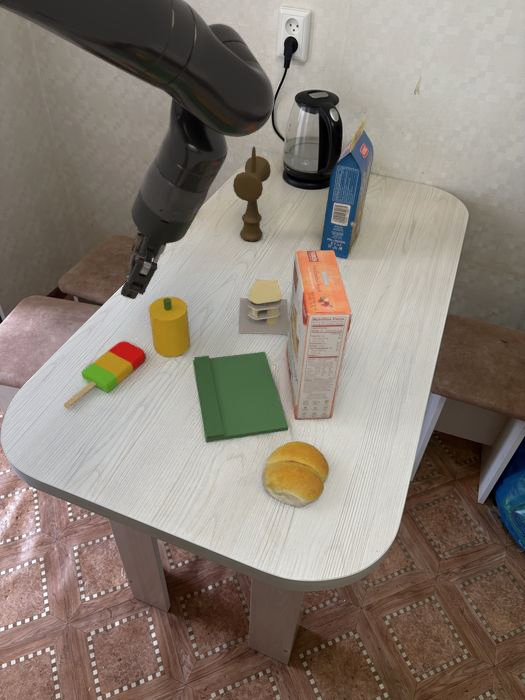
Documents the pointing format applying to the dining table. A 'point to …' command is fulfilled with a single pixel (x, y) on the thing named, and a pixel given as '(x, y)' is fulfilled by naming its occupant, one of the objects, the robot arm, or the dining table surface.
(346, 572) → the dining table surface
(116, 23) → the robot arm
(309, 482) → the bread roll
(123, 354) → the popsicle
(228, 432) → the green notebook
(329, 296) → the cracker box
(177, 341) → the yellow cylinder with peg
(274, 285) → the stacked layers on plate
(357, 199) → the blue food package
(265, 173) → the kendama
